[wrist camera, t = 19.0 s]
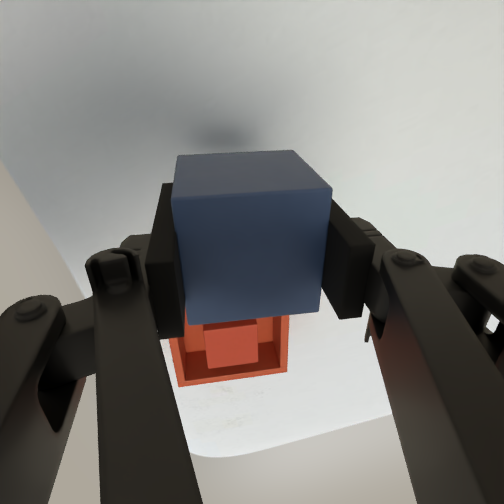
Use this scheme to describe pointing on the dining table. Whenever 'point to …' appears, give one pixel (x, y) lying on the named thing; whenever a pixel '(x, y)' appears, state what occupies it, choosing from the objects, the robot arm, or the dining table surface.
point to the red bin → (269, 362)
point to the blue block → (249, 234)
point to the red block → (231, 343)
